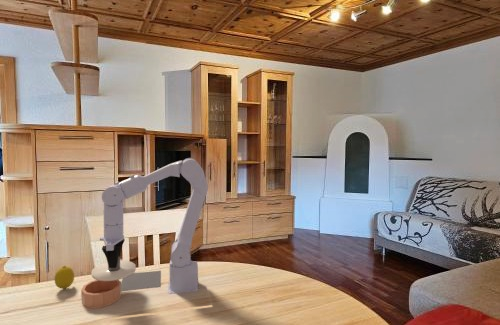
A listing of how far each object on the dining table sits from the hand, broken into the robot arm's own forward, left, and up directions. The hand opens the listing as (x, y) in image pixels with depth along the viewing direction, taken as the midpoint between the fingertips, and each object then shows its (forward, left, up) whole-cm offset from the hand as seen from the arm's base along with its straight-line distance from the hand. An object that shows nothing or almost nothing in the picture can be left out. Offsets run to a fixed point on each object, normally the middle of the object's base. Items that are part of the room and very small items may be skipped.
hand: (113, 264), depth 99 cm
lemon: (+16, -7, -10) cm, 20 cm away
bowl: (+3, +3, -10) cm, 11 cm away
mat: (-8, -7, -10) cm, 14 cm away
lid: (0, 0, -2) cm, 2 cm away
